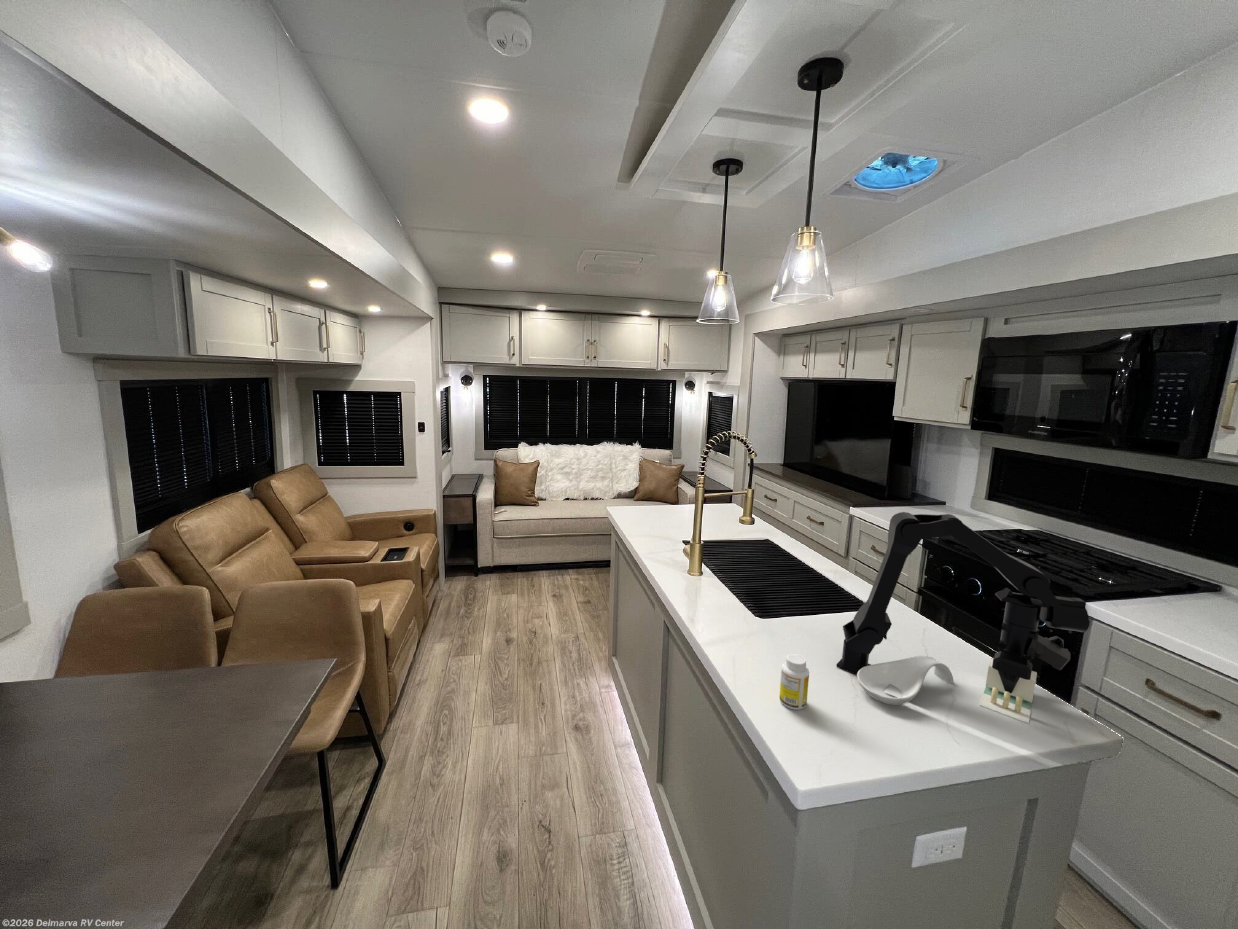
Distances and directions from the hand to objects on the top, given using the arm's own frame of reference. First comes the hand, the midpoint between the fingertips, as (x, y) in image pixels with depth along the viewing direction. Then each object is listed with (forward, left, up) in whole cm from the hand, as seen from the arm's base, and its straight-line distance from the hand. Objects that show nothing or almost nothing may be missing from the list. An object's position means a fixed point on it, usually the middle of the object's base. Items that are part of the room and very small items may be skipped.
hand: (1009, 687), depth 107 cm
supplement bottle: (-36, +33, -3) cm, 50 cm away
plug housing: (0, 0, 0) cm, 0 cm away
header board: (-3, 0, -2) cm, 4 cm away
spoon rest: (-14, +17, -3) cm, 22 cm away
